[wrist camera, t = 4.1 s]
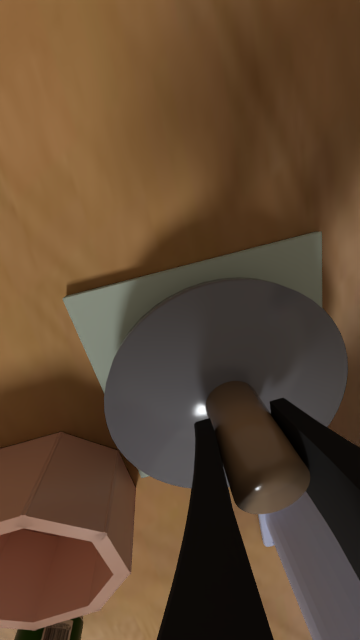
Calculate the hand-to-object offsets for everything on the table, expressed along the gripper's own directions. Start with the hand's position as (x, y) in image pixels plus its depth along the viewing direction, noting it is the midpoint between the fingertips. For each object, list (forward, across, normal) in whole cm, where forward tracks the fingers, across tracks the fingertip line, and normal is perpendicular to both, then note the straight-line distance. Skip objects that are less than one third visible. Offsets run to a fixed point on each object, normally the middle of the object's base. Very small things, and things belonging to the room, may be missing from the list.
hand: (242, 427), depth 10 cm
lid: (+2, 0, 0) cm, 2 cm away
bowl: (+4, +12, +6) cm, 14 cm away
